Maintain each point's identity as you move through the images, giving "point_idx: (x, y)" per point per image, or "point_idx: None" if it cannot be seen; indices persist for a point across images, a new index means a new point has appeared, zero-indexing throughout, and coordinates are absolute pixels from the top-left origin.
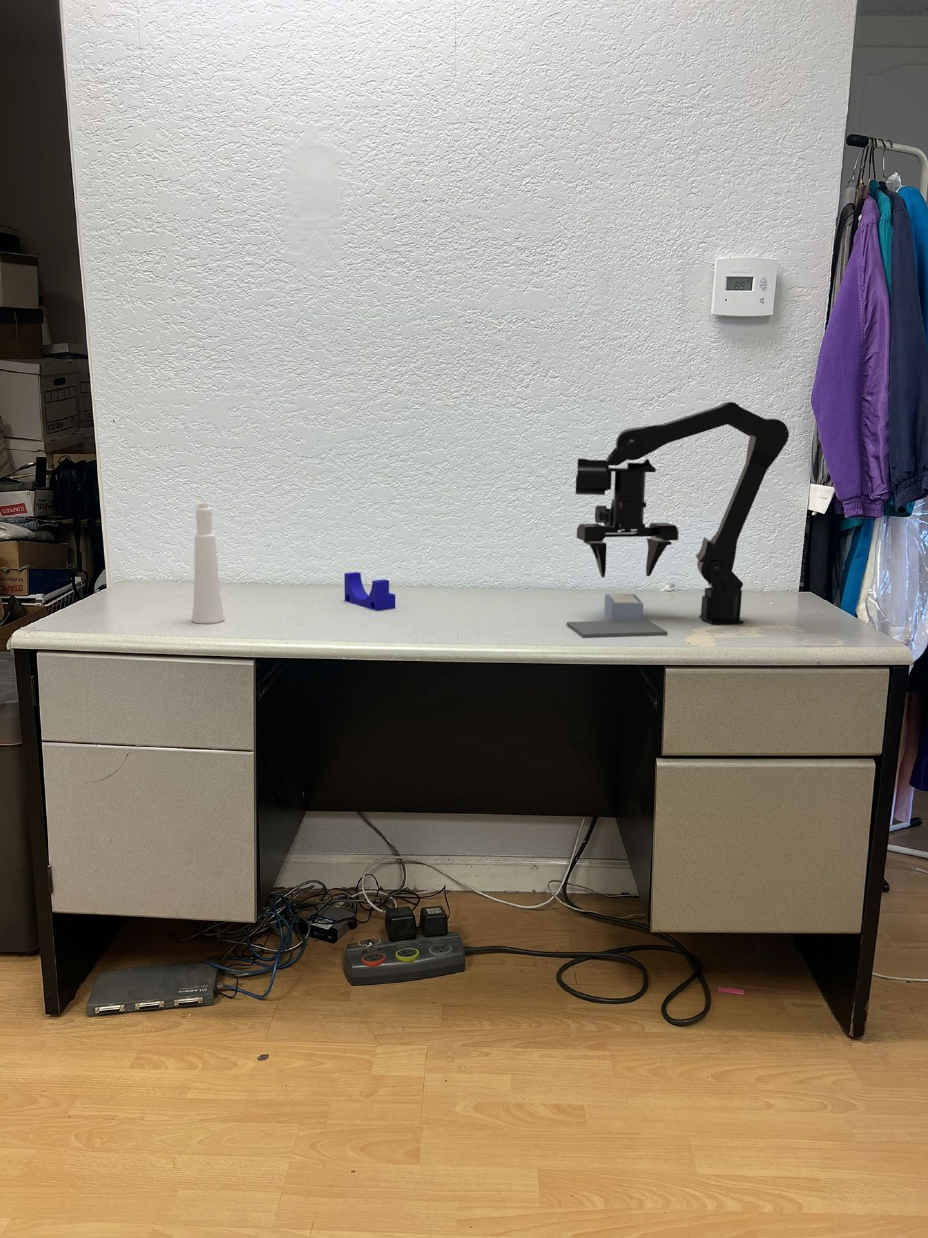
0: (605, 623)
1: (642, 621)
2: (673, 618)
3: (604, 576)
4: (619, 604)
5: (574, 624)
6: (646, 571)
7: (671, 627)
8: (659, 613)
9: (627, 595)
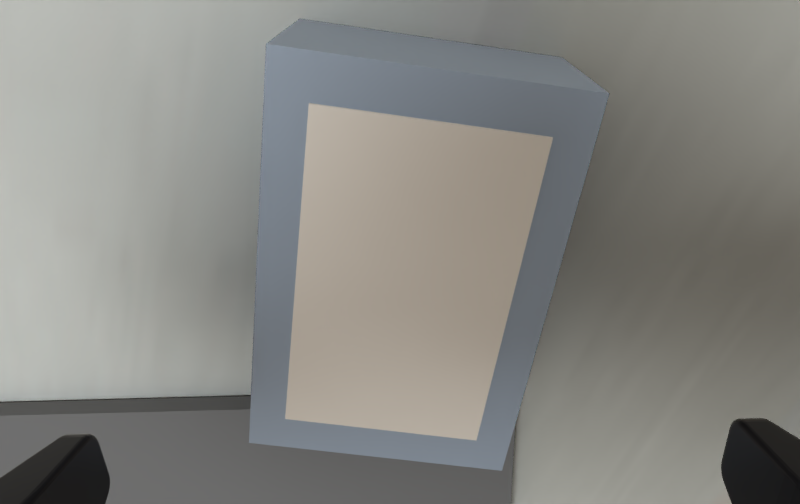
0: (212, 464)
1: None
2: (766, 279)
3: (105, 498)
4: (313, 441)
5: None
6: (759, 463)
7: (607, 487)
8: (768, 101)
9: (492, 165)
